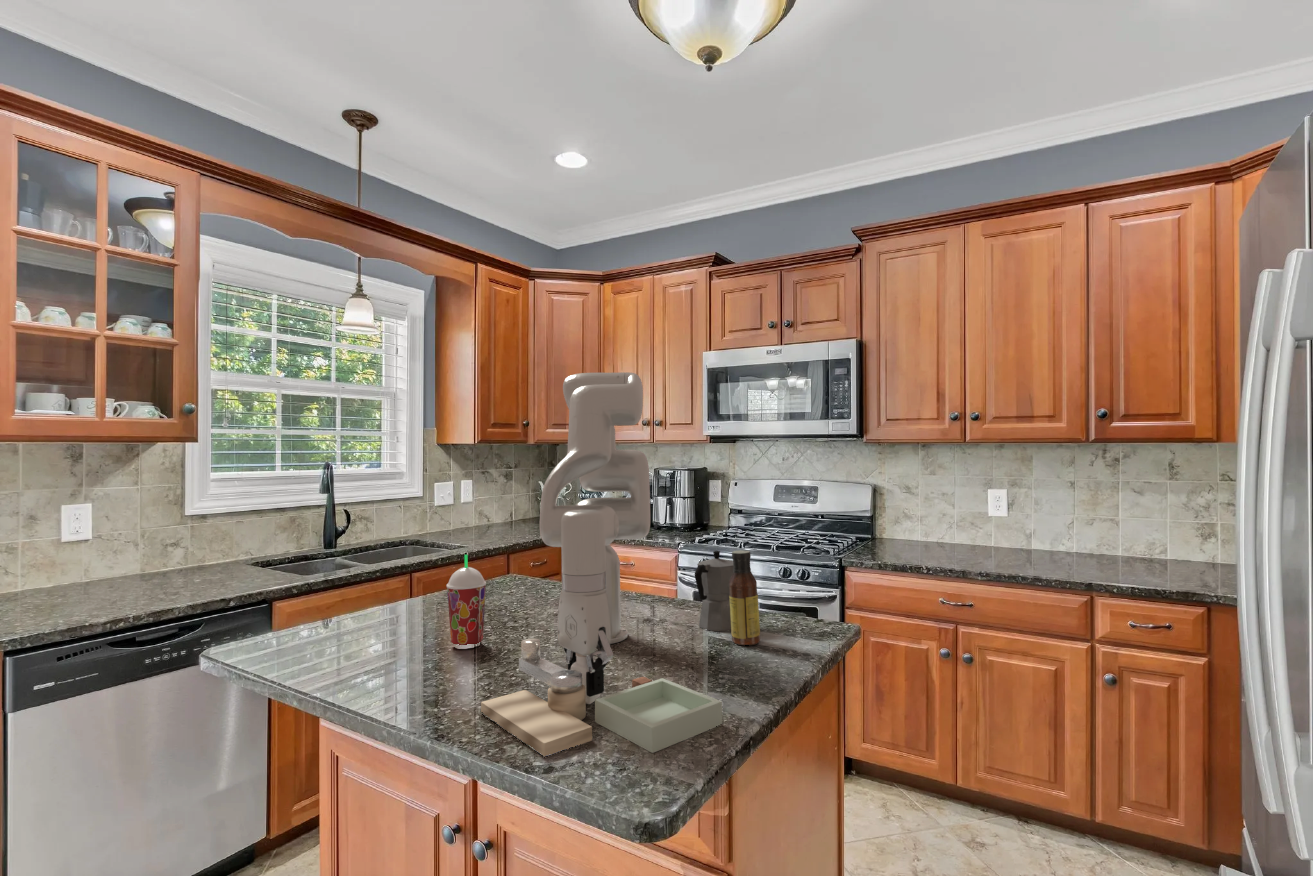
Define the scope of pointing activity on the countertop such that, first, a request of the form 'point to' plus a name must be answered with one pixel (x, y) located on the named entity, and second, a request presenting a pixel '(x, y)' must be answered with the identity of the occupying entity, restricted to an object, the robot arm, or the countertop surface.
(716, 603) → the coffeepot
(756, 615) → the sauce bottle
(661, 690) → the tray
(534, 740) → the base
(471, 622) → the smoothie
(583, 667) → the salt shaker
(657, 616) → the countertop surface
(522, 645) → the crank arm
